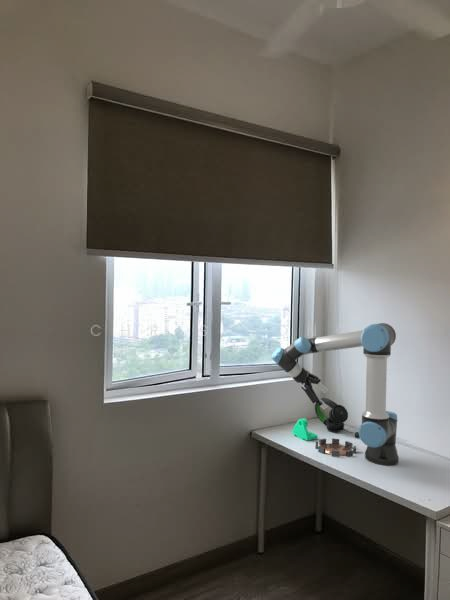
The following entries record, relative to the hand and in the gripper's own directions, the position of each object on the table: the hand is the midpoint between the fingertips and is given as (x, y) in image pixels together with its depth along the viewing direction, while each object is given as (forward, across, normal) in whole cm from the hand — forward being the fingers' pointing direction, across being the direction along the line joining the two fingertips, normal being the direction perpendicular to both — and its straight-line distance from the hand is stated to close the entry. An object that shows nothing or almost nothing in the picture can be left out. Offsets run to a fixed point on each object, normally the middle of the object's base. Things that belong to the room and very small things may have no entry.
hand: (326, 399), depth 244 cm
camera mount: (+10, +3, -24) cm, 26 cm away
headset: (+27, -12, -16) cm, 33 cm away
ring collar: (+17, +16, -9) cm, 24 cm away
